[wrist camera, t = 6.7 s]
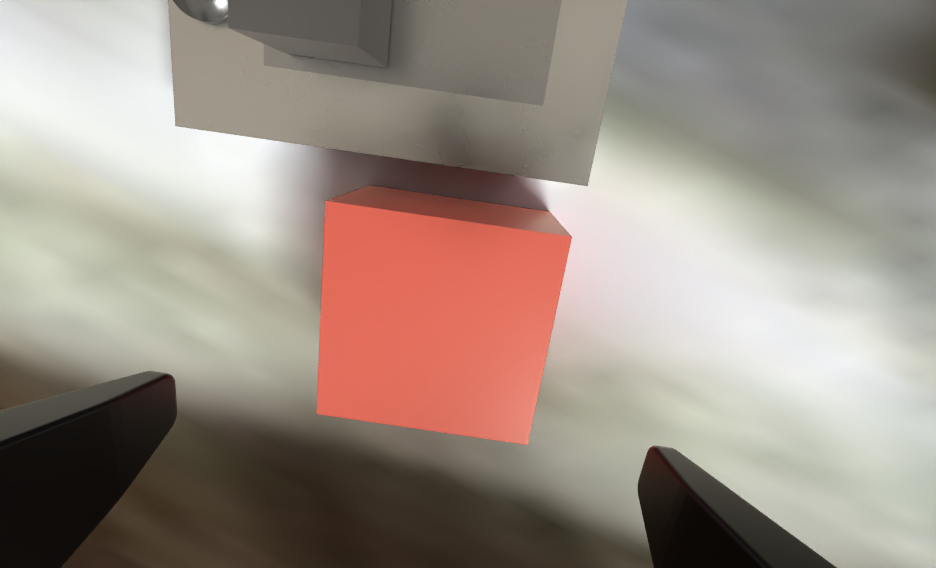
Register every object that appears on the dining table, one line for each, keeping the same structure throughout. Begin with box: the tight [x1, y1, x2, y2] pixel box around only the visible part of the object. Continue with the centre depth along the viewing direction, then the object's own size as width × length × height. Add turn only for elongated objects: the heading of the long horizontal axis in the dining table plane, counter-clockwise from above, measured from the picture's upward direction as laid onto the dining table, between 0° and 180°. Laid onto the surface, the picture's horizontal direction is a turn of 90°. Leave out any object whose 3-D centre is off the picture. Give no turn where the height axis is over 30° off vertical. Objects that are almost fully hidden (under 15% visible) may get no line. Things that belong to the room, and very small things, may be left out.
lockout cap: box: [317, 185, 572, 445], centre depth 15 cm, size 7×7×5 cm
